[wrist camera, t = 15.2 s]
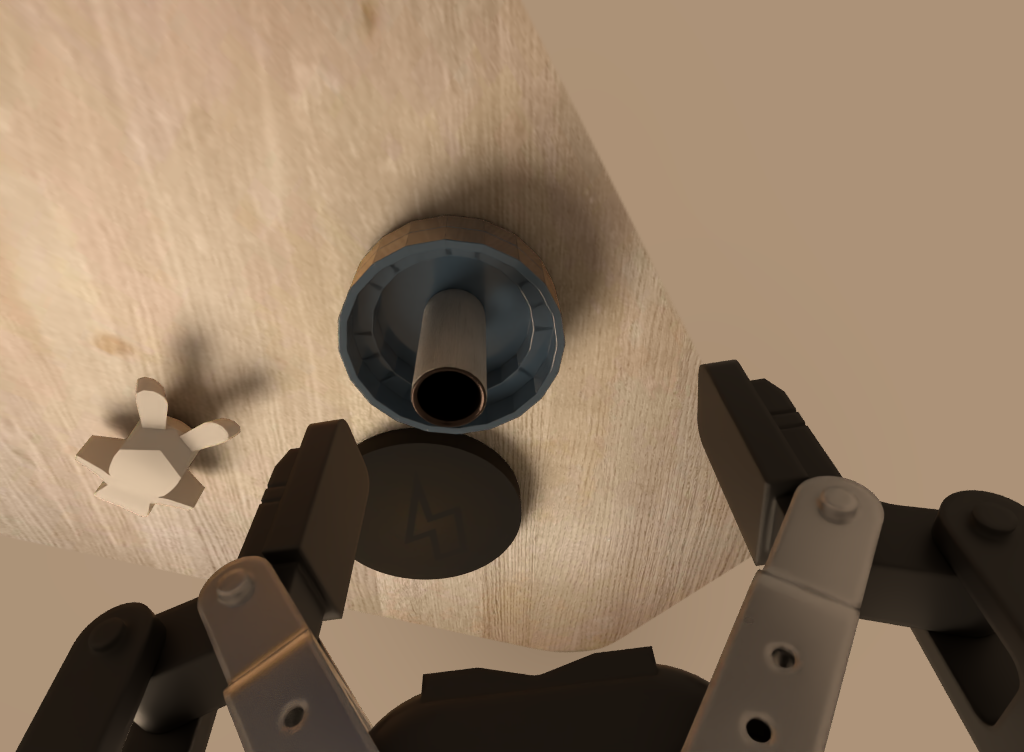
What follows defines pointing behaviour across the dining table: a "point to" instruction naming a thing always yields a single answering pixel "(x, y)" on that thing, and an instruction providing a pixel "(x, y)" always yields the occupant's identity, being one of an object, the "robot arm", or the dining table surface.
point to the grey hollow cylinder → (451, 360)
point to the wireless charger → (435, 504)
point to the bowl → (441, 266)
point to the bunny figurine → (152, 456)
